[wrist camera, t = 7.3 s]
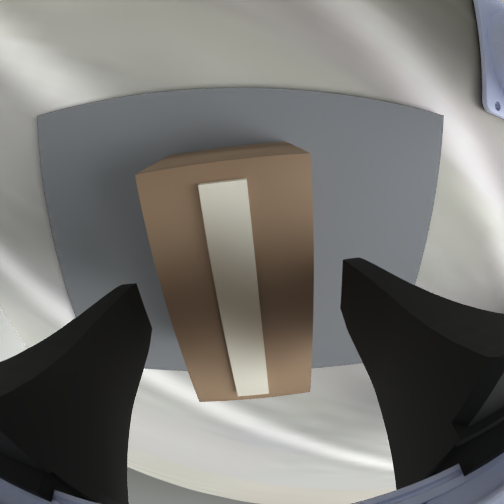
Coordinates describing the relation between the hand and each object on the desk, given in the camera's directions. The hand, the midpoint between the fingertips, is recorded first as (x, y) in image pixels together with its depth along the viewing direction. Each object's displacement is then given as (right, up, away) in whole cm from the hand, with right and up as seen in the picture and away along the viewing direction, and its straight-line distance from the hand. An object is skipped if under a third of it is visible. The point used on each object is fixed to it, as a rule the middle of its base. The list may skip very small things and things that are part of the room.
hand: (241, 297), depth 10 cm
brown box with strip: (0, +1, +3) cm, 3 cm away
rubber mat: (0, +1, +3) cm, 3 cm away
